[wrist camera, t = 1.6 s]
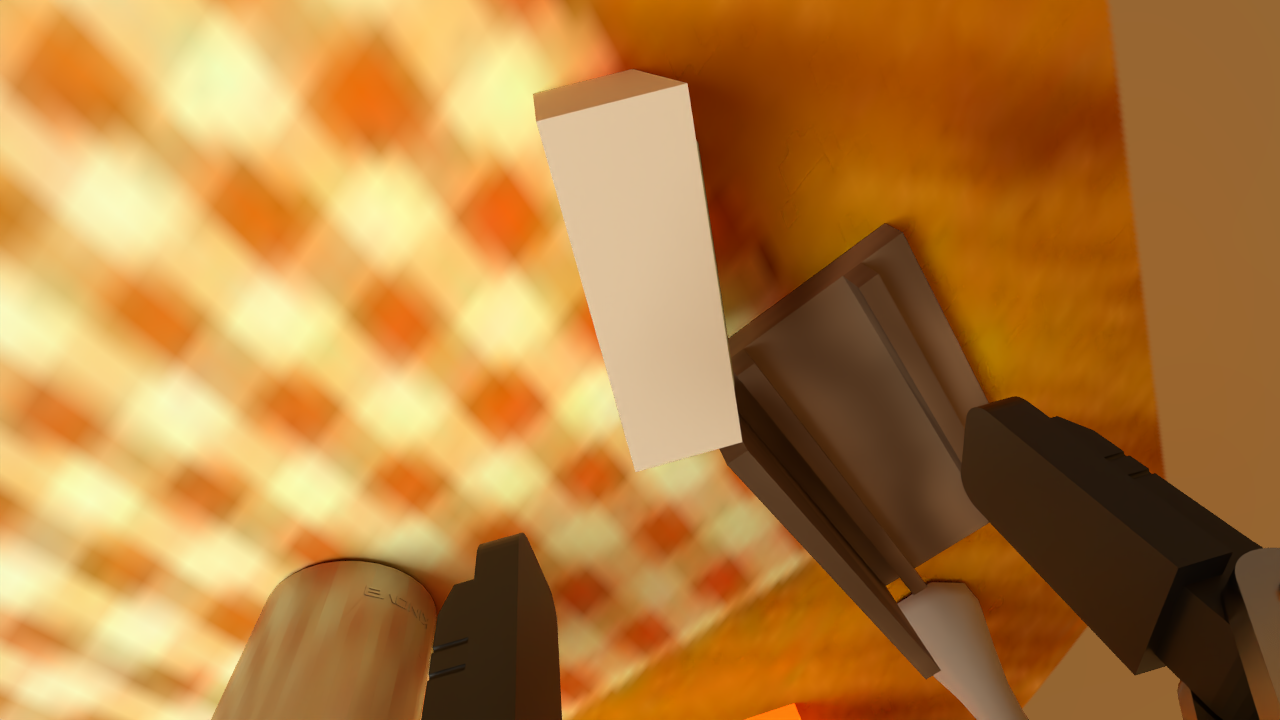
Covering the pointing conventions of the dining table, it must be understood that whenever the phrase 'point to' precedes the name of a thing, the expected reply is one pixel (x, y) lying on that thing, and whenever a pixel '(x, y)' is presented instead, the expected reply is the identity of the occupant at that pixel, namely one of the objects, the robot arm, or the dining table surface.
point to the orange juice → (779, 714)
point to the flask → (962, 649)
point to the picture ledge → (860, 425)
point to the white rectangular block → (645, 257)
